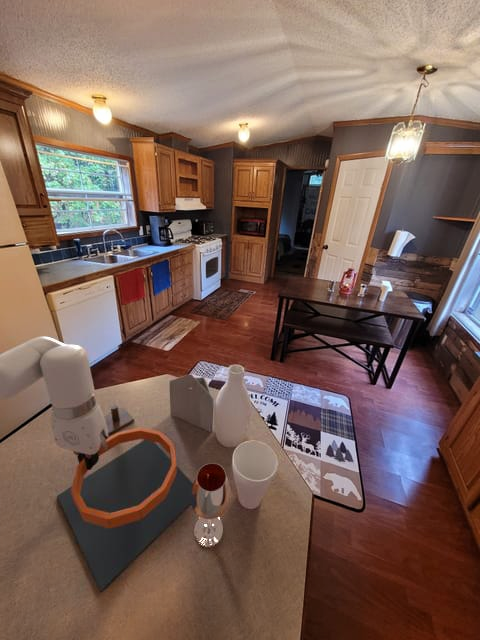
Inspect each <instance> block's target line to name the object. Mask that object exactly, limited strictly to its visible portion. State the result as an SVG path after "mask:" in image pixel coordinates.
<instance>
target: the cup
mask: <svg viewBox="0 0 480 640" xmlns="http://www.w3.org/2000/svg"><path fill="white" fill-rule="evenodd" d="M231 463H232V465H231V466H232V467H231V468H232V473H233V479H234V482H235V485H236V490H237V499H238V502H239V504H240V505H241V506H242V507H243V508H245V509H248V510H253V509H256V508H258V507H259V506H260V505H261V503H262V500H263V497H264V495H265V494H266V492H267V491H268V489H269V488H270V486H271V484H272V482H273V480H274V479H275V477H276V473H277V470H278V467H279V461H278V456H277V454H276V453H275V451H274V449H272V447H271V446H269V444H267V443H265V442H263V441H259V440H254V439H251V440H246V441H243V442H242V443H241V444H240V445H238V446H236V448H234V451H233V453H232V461H231Z"/></svg>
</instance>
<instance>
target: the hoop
mask: <svg viewBox="0 0 480 640" xmlns="http://www.w3.org/2000/svg"><path fill="white" fill-rule="evenodd" d="M137 440H148V441H153V442H155V443H156V444H160V446H161V447H162V448H163V449H164V450H165V451H166V452H167V453H168V454H169V456H170V459H171V465H172V466H171V468H170V470H169V472H168V474H167V476H166V478H165V480H164V483H163V485H162V487H160V488H159V489H158V490H157V491H156V492H154V493H153V494H152V495H151V496H150V497H148V498H147V499H146V500H145V501H144V502H142V503H141V504H140V505H139V506H135V507H132V508H128V509H125V510H121V511H118V512H114V513H111V514H110V513H107V512H103V511H99V510H96V509H92V508H89V507H86V505H85V503H84V501H83V499H82V497H81V496H80V492H81V487H82V483H83V479H84V478H85V475H86V473H88V471H89V470H87V467H86V463H85V459H83V460H82V461H81V462H80V464H79V463H78V465H77V466H76V469H75V473H74V477H73V481H72V485H71V486H72V488H71V493H72V497H73V500H74V502H75V504H76V506H77V508H78V510H79V512H80V514H81V516H82V518H83V520H84V521H86V522H89V523H92V524H96V525H99V526H103V527H106V528H109V529H110V528H114V527H117V526H121V525H124V524H127V523H130V522H134V521H137V520H140V519H142V518H143V517H145V516H146V515H147V514H148V513H149V512H150V511H151V510H153V509H154V508H155V507H156V506H157V505H158V504H159V503H161V502H162V501H163V500H164V499H165V497H166V496H167V494H168V492H169V490H170V487H171V485H172V483H173V481H174V478H175V476H176V474H177V467H178V466H177V457H176V451H175V450H176V449H175V445H174V443H173V442H172V441H171V440H170V439H169V438H168V437H167V436H166V435H165V433H163V432H162V431H158V430H154V429H149V428H145V427H138V428H132V429H128V430H122V431H117V432H115V433H113V434H111V435H109V436H108V439H107V440H106V441H107V443H108V444H109V446H110V447H109V449H108V450H107V451H106V452H108V451H110V450H111V449H113V448H115V447H116V446H118V445H120V444H122V443H128V442H132V441H137ZM106 452H98V456H99V457H100V456H102V455H104V454H105V453H106ZM176 466H177V467H176Z"/></svg>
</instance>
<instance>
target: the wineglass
mask: <svg viewBox="0 0 480 640" xmlns="http://www.w3.org/2000/svg"><path fill="white" fill-rule="evenodd" d="M192 483H193V485H192V488H191V492H190V502H191V505H190V507H191V508H192V510H193V512H194V513H195V514H196V516H198V517H199V518H198V519H197V521H196V523H195V525H194V529H193V533H194V537H195V536H196V537H198V538H199V540H200V539H201V540H200V541H199V540H198V539H197V540H198V541H199V542H201V541H202V540H203V539H204V540H203V541H202V542H201V543H202V544H203V543H204V544H203V545H202V544H201V545H202V547H203V546H204V545H205V544H206V543H207V544H206V545H205V547H204V548H212V547H214V546H216V545H217V544H218V543H219V542H220V541H221V539H222V537H223V533H224V525H223V522H222V520H221V519H220V517H221V516H222V515H223V514H224V513H225V512H226V511H227V509H228V508H229V506H230V503H231V499H232V497H231V496H232V491H231V484H230V482H229V478H228V475H227V473H226V470H225V469H224V467H223V466H222V465H221V464H219V463H216V462H209V463H205V464H204V465H202V466H201V467H200V468H199V469H198V471H197V473H196V476H195V478H194V479H193V482H192ZM198 525H199V526H198ZM199 527H200V528H199ZM198 528H199V529H198ZM195 531H197V532H198V533H197V534H196V533H195ZM205 540H206V541H205ZM209 543H211V544H209ZM213 543H214V544H213ZM208 544H209V545H208ZM212 544H213V546H212V547H211V546H210V545H212ZM215 544H216V545H215ZM198 545H200V543H198ZM201 545H200V546H201Z"/></svg>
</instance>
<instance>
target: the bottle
mask: <svg viewBox="0 0 480 640" xmlns="http://www.w3.org/2000/svg"><path fill="white" fill-rule="evenodd" d="M244 373H245V368H244V367H243V365H241V364H231V365H229V366H228V368H227V381H226V382H225V383H224V384H223V386H222V387H221V388H220V390H219V392H218V394H217V397H216V399H215V402H214V406H213V423H214V424H213V425H214V430H215V431H214V432H215V437H216V440H217V442H218V443H219V444H220V445H222V446H223V447H226V448H235V447H237V446H238V445H240V444H241V443H243V442H245V438H246V435H247V432H248V429H249V425H250V421H251V416H252V401H251V397H250V393H249V390H248V389H247V387H246V386H245V385H246V384H244Z"/></svg>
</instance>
